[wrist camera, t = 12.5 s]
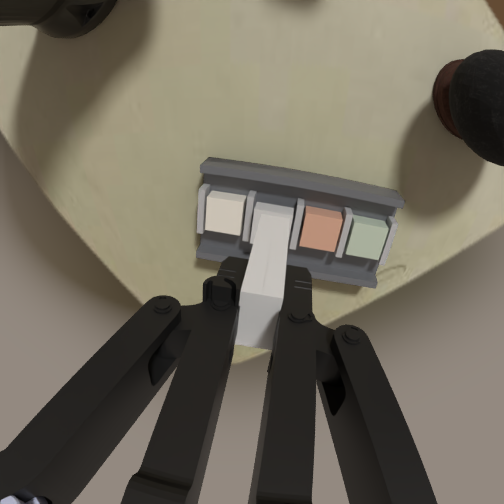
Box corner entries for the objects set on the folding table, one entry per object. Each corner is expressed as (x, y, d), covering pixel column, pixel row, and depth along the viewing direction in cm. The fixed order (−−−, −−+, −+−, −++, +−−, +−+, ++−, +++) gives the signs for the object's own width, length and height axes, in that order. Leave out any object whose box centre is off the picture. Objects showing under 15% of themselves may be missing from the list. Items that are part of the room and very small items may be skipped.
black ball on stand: (440, 157, 36) (497, 197, 23) (412, 60, 31) (467, 54, 18) (513, 137, 32) (579, 169, 19) (491, 47, 27) (560, 45, 14)
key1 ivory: (209, 222, 43) (205, 229, 41) (212, 190, 41) (207, 196, 39) (243, 227, 43) (239, 235, 41) (246, 195, 41) (243, 202, 39)
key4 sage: (343, 245, 42) (345, 254, 40) (352, 214, 40) (354, 222, 38) (375, 250, 42) (378, 260, 40) (384, 221, 39) (388, 229, 37)
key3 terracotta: (299, 237, 42) (299, 245, 40) (306, 205, 40) (306, 212, 38) (332, 243, 42) (334, 252, 40) (340, 212, 40) (342, 219, 38)
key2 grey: (252, 234, 42) (249, 243, 40) (256, 201, 39) (254, 209, 37) (287, 240, 41) (286, 249, 39) (293, 207, 39) (293, 215, 37)
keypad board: (203, 243, 48) (195, 258, 44) (209, 157, 41) (199, 165, 37) (370, 272, 46) (375, 290, 42) (396, 190, 39) (405, 202, 36)
